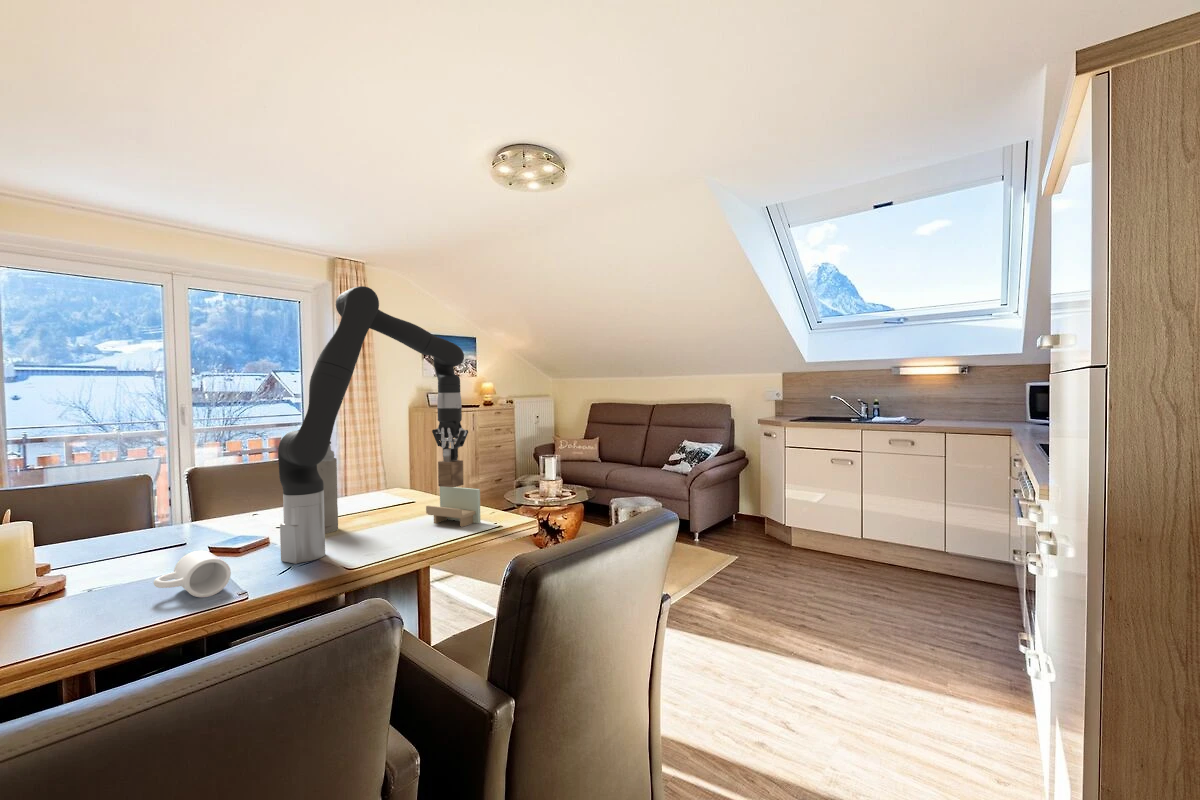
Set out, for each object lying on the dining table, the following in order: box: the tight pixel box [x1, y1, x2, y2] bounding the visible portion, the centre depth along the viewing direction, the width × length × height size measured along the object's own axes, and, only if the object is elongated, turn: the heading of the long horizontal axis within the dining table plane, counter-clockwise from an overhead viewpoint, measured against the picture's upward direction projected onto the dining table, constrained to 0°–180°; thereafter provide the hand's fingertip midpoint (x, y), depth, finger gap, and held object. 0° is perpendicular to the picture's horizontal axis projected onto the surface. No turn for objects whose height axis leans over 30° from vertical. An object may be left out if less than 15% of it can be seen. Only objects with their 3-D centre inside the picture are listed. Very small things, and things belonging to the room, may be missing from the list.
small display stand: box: [425, 486, 481, 527], centre depth 167 cm, size 9×16×11 cm, turn 65°
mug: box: [153, 550, 232, 598], centre depth 111 cm, size 12×10×8 cm
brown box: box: [437, 447, 464, 487], centre depth 167 cm, size 5×6×12 cm
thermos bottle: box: [317, 440, 339, 534], centre depth 161 cm, size 8×8×28 cm
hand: (450, 459), depth 167 cm, fingers closed on brown box, 2 cm apart
